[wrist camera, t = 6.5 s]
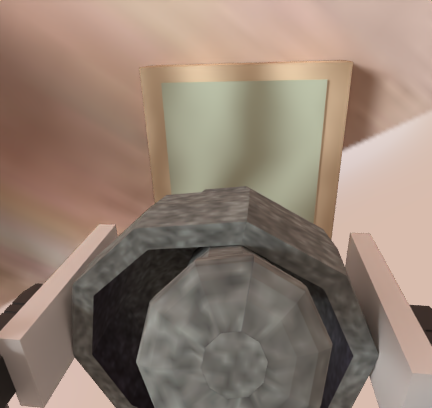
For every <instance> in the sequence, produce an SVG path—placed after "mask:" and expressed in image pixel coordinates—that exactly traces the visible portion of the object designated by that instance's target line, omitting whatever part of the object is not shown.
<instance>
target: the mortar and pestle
mask: <svg viewBox="0 0 432 408" xmlns="http://www.w3.org/2000/svg"><path fill="white" fill-rule="evenodd" d="M72 319H73V355H74V357H75V358H76V359H77V361H78V362H79V363H80V364H81V365H82V367H83V368H84V369H85V370H86V372H87V373H88V374H89V375H90V376H91V377H92V379H93V380H94V381H95V383H96V384H97V385H98V386H99V388H100V389H101V390H102V391H103V393H104V394H105V395H106V396H107V397H108V398H109V400H110V401H111V402H112V404H113V405H114V406H115V407H116V408H352V406H353V404H354V402H355V400H356V398H357V396H358V395H359V393H360V391H361V389H362V387H363V385H364V384H365V382H366V380H367V378H368V376H369V374H370V373H371V371H372V369H373V367H374V365H375V363H376V361H377V360H378V357H379V354H378V351H377V349H376V346H375V343H374V340H373V338H372V335H371V332H370V329H369V327H368V324H367V321H366V319H365V316H364V314H363V311H362V309H361V306H360V304H359V301H358V299H357V296H356V294H355V291H354V289H353V286H352V284H351V281H350V279H349V276H348V274H347V271H346V269H345V267H344V264H343V261H342V259H341V256H340V254H339V251H338V249H337V248H336V246H335V245H334V243H333V242H332V241H331V239H330V238H329V236H328V235H327V234H326V232H325V231H324V229H322V228H320V227H319V226H317V225H315V224H313V223H311V222H309V221H308V220H306V219H304V218H302V217H300V216H299V215H297V214H295V213H293V212H291V211H290V210H288V209H286V208H284V207H283V206H281V205H279V204H278V203H276V202H274V201H272V200H270V199H269V198H267V197H265V196H263V195H261V194H260V193H258V192H256V191H254V190H252V189H250V188H249V187H247V186H241V187H229V188H216V189H205V190H204V191H202V192H198V193H186V194H173V195H166V196H164V197H163V198H162V199H160V200H159V201H158V202H157V203H155V204H154V205H153V206H151V207H150V208H149V209H148V210H147V211H146V212H144V213H143V214H142V215H141V216H140V217H139V218H138V219H137V220H136V221H135V222H134V223H132V224H131V225H130V226H129V227H128V228H127V229H126V230H125V231H124V232H123V233H122V234H120V235H119V236H118V237H117V238H116V239H115V240H114V241H113V242H112V243H111V244H110V245H108V246H107V247H106V248H105V249H104V250H103V251H102V252H101V253H100V254H99V255H97V256H96V257H95V258H94V259H93V260H92V261H91V262H90V264H89V265H88V266H87V267H86V269H85V270H84V271H83V272H82V274H81V275H80V276H79V277H78V278H77V280H76V281H75V282H74V283H73V285H72Z"/></svg>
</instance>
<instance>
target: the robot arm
mask: <svg viewBox="0 0 432 408" xmlns="http://www.w3.org/2000/svg"><path fill="white" fill-rule="evenodd" d="M117 237H118V236H117V230H116V225H112V224H99V225H98V226H97V227H96V228H95V229H94V230H93V231H92V232H91V233H90V234H89V236H88V237H87V238H86V239H85V240H84V241H83V242H82V243H81V244H80V245H79V246H78V247H77V249H76V250H75V251H74V252H73V253H72V254H71V255H70V256H69V257H68V258H67V259H66V260H65V262H64V263H63V264H62V265H61V266H60V267H59V268H58V269H57V270H56V271H55V272H54V273H53V274H52V276H51V277H50V278H49V279H48V280H47V281H46V282H45V283H44V284H35V285H33V286H32V287H30V288H29V289H27V290H25V291H24V292H22V293H21V294H20V295H19V296H18V297H17V299H16V300H15V301H14V302H13V304H12V305H10V306H9V307H8V308H7V309H6V310H5V311H4V313H2V314H1V315H0V408H9V406H8V404H7V403H8V402H9V401H10V399H11V398H12V396H13V395H14V394H15V392H16V395H17V397H18V400H19V402H20V405H21V406H31V407H40V408H44V407H45V405H46V404H47V402H48V400H49V399H50V397H51V396H52V394H53V392H54V390H55V389H56V387H57V386H58V384H59V382H60V381H61V379H62V377H63V376H64V374H65V373H66V371H67V369H68V368H69V366H70V364H71V363H72V361H73V359H74V358H75V357H74V355H73V319H72V285H73V283H74V282H75V281H76V280H77V278H78V277H79V276H80V275H81V274H82V272H83V271H84V270H85V269H86V267H87V266H88V265H89V264H90V262H91V261H92V260H93V259H94V258H95V257H96V256H97V255H99V254H100V253H101V252H102V251H103V250H104V249H105V248H106V247H107V246H108V245H110V244H111V243H112V242H113V241H114V240H115V239H116V238H117ZM345 269H346V271H347V274H348V276H349V279H350V281H351V284H352V286H353V289H354V291H355V294H356V296H357V299H358V301H359V304H360V306H361V309H362V311H363V314H364V316H365V319H366V321H367V324H368V327H369V329H370V332H371V335H372V338H373V340H374V343H375V346H376V349H377V351H378V354H379V357H378V360H377V361H376V363H375V365H374V367H373V369H372V371H371V373H370V374H369V376H370V379H371V383H372V386H373V389H374V392H375V395H376V399H377V402H378V405H379V408H432V308H430V307H429V306H419V305H409V304H408V302H407V300H406V298H405V296H404V295H403V293H402V291H401V289H400V287H399V286H398V284H397V282H396V280H395V278H394V276H393V275H392V273H391V271H390V269H389V267H388V265H387V264H386V262H385V260H384V258H383V256H382V255H381V253H380V251H379V249H378V247H377V245H376V244H375V242H374V240H373V238H372V236H371V234H369V233H350V238H349V245H348V251H347V258H346V265H345Z"/></svg>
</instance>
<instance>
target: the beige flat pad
mask: <svg viewBox="0 0 432 408" xmlns="http://www.w3.org/2000/svg"><path fill="white" fill-rule="evenodd" d="M352 68H353V62H351V61H346V60H337V61H301V62H265V63H229V64H193V65H156V66H146V67H141V68H139V71H140V80H141V89H142V97H143V106H144V115H145V123H146V132H147V141H148V149H149V158H150V167H151V175H152V184H153V192H154V201H155V203H157V202H158V201H159V200H160V199H162V198H163V197H164V196H166V195H173V194H186V193H198V192H202V191H204V190H205V189H216V188H229V187H241V186H247V187H249V188H250V189H252V190H254V191H256V192H258V193H260V194H261V195H263V196H265V197H267V198H269V199H270V200H272V201H274V202H276V203H278V204H279V205H281V206H283V207H284V208H286V209H288V210H290V211H291V212H293V213H295V214H297V215H299V216H300V217H302V218H304V219H306V220H308V221H309V222H311V223H313V224H315V225H317V226H319V227H320V228H322V229H324V231H325V232H326V234H327V235H328V236H329V238H330V239H331V237H332V229H333V221H334V213H335V205H336V197H337V189H338V181H339V173H340V165H341V157H342V149H343V141H344V132H345V124H346V116H347V108H348V100H349V92H350V84H351V76H352Z"/></svg>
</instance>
